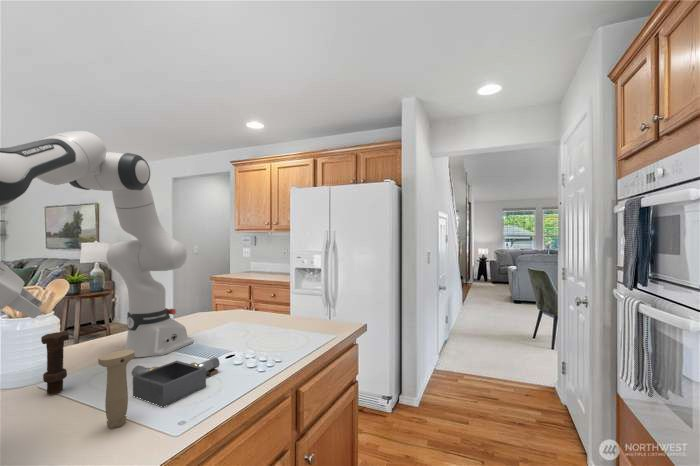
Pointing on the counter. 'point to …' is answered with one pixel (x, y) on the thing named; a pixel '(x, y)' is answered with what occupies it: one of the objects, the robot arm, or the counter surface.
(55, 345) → the bolt
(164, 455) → the counter surface
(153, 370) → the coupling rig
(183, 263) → the robot arm
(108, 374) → the handle
